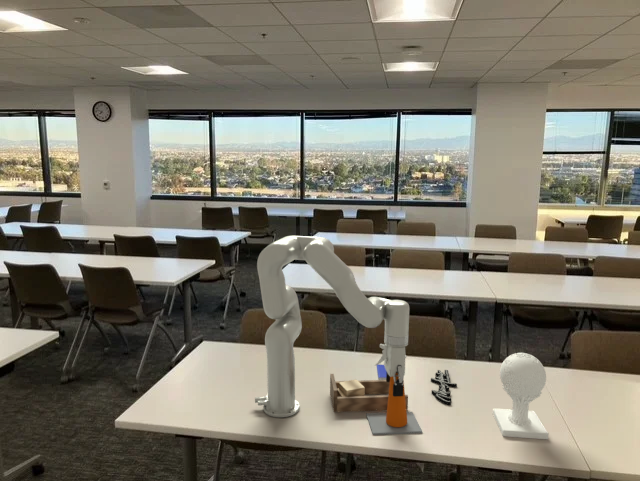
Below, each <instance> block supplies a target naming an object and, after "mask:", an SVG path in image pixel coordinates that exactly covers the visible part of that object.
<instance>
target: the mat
mask: <svg viewBox="0 0 640 481" xmlns="http://www.w3.org/2000/svg"><path fill="white" fill-rule="evenodd" d="M406 412H407V424H406V425H405V426H403V427H392V426H390V425H388V424H387V423H386V415H387V412H369V413H368V412H366V413H365V414H366V418H367V421H368V424H369V427H370V430H371V433H372V434H371V435H373V436H376V435H377V436H378V435H401V434H402V435H403V434H423V429H422V428H421V425H420V423H419V421H418V420H417V418H416V416H415V414H414V412H413V411H406Z"/></svg>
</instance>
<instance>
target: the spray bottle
mask: <svg viewBox="0 0 640 481" xmlns="http://www.w3.org/2000/svg"><path fill="white" fill-rule="evenodd" d="M379 348H381V349H382V351H381V352H382V355H381V356H380V358H379V360H378V361H377V362H376V363H375V365H374V366H376V367H377V365H381V363H384V360H385V359H386V350H387V345H386V344H385V343H380V344H379ZM407 357H408V356H407V355H406V354H405V359H407ZM395 375H398V373H395ZM397 379H398V377H396V381H397ZM393 384H394V377H393V376H392V377H390V385H389V394H387V395H388V405H387V410H386V413H387V415H386V423H387V424H388V425H390V426H392V427H403V426H405V425H406V424H407V412H408V411H407V410H406V401H405V395H406V394H405V385H404V386H403V396H393Z"/></svg>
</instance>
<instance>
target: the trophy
mask: <svg viewBox="0 0 640 481" xmlns="http://www.w3.org/2000/svg"><path fill="white" fill-rule="evenodd" d="M543 365H544V364H543V363H542V362H541V361H540V360H539V359H538V358H537V357H535V356H534V355H532V354H530V353H525V352H517V353H516V352H515V353H512V354H510V355H509V356H507V357H505V359H504V360H503V362H502V363H501V365H500V368H499V377H500V378H499V379H500V381H501V383H502V389H503V390H504V391H505V392H506V394H507V395H508V396H509V397H510V399H511V400H512V406H511V407H512V408H511V409H510V408H508V409H507V408H496V407H495V408H492V415H493V418H494V420H495V422H496V425H497V427H498V429H499V431H500V433H501V436H502V437H509V438H523V439H537V440H538V439H539V440H549V432H548V430H547V428H546V427H545V426H544V424H543V423H542V420H541V419H540V417H539V416H538V414H537V413H536V411H535V410H529V406H530V403H531V402H533V401H535V400H537V398H540V397H541V395H542V394H543V392H542V390H543V389H544V388H545V386H546V381H547V373H546V369H545V367H544V366H543Z"/></svg>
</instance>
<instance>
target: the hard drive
mask: <svg viewBox="0 0 640 481" xmlns="http://www.w3.org/2000/svg"><path fill="white" fill-rule="evenodd" d="M376 373H377V380H386V373H387V371H386V369H385V366H384V364H378V365H376Z"/></svg>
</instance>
